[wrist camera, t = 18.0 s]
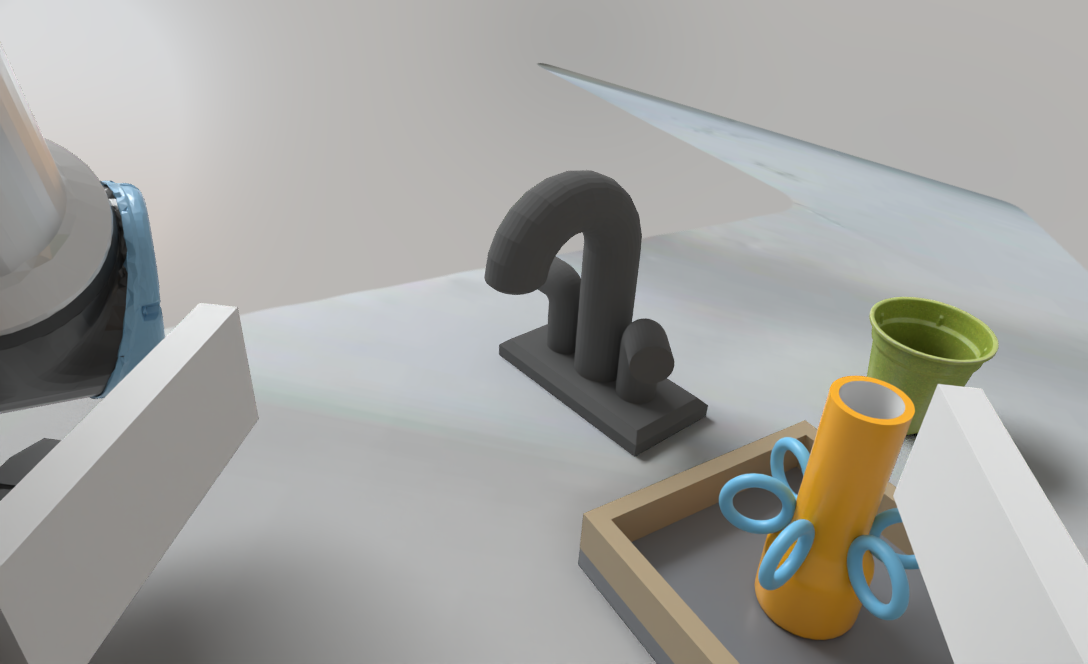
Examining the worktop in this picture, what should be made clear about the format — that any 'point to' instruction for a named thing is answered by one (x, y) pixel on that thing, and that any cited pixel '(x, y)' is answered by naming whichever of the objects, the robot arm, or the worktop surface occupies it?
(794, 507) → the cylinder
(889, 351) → the plant pot
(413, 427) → the worktop surface
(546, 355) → the faucet
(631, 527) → the tan and grey tray
